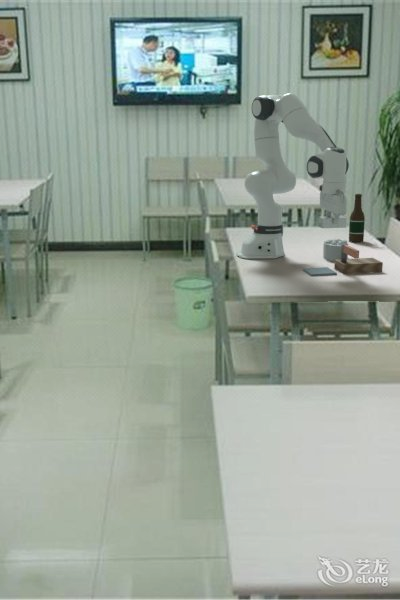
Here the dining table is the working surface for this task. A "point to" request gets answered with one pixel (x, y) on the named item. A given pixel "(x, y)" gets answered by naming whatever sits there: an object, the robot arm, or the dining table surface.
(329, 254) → the paw pad
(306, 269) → the pad
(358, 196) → the beer bottle
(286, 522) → the dining table surface
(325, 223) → the grey-blue rectangular block
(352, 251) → the cam lever
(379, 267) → the body
